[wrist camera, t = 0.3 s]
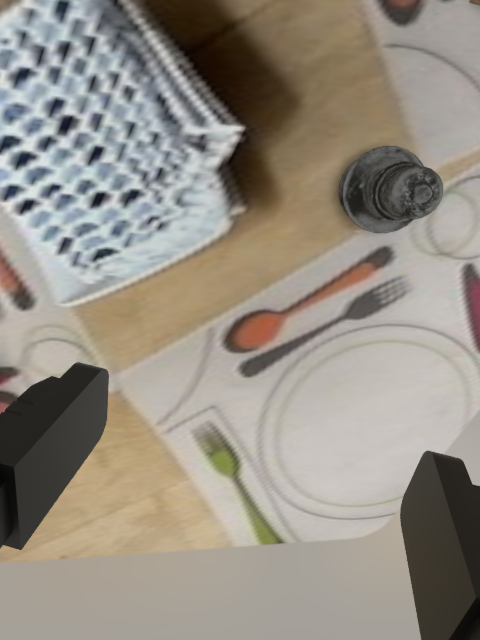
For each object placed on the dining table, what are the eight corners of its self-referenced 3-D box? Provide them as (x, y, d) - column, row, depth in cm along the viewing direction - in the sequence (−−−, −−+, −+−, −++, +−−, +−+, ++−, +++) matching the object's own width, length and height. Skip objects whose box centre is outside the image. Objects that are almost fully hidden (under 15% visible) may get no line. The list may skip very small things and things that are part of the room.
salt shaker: (428, 183, 34) (512, 184, 22) (374, 243, 35) (427, 272, 24) (372, 132, 33) (429, 106, 22) (319, 196, 35) (346, 203, 23)
